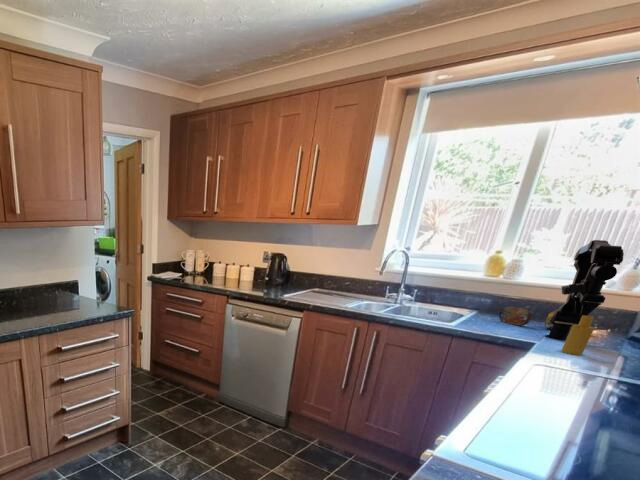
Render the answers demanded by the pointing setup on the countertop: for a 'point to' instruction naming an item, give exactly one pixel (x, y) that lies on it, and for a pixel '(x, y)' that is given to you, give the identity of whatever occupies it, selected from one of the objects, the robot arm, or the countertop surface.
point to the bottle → (578, 336)
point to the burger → (547, 323)
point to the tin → (515, 315)
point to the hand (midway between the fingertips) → (578, 316)
